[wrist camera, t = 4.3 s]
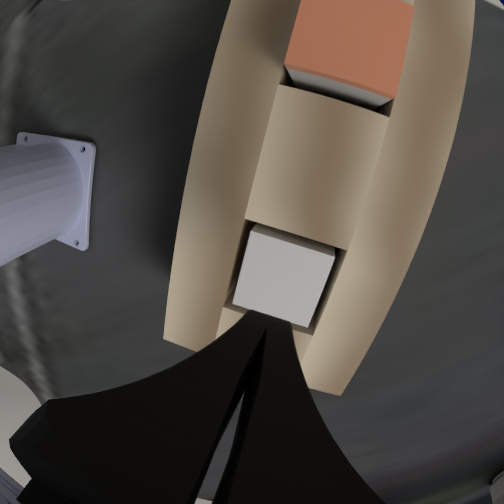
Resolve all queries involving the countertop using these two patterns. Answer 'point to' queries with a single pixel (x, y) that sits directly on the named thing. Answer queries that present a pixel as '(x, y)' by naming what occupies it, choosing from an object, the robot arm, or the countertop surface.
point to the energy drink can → (498, 489)
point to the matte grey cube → (283, 274)
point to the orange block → (350, 49)
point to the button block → (314, 179)
